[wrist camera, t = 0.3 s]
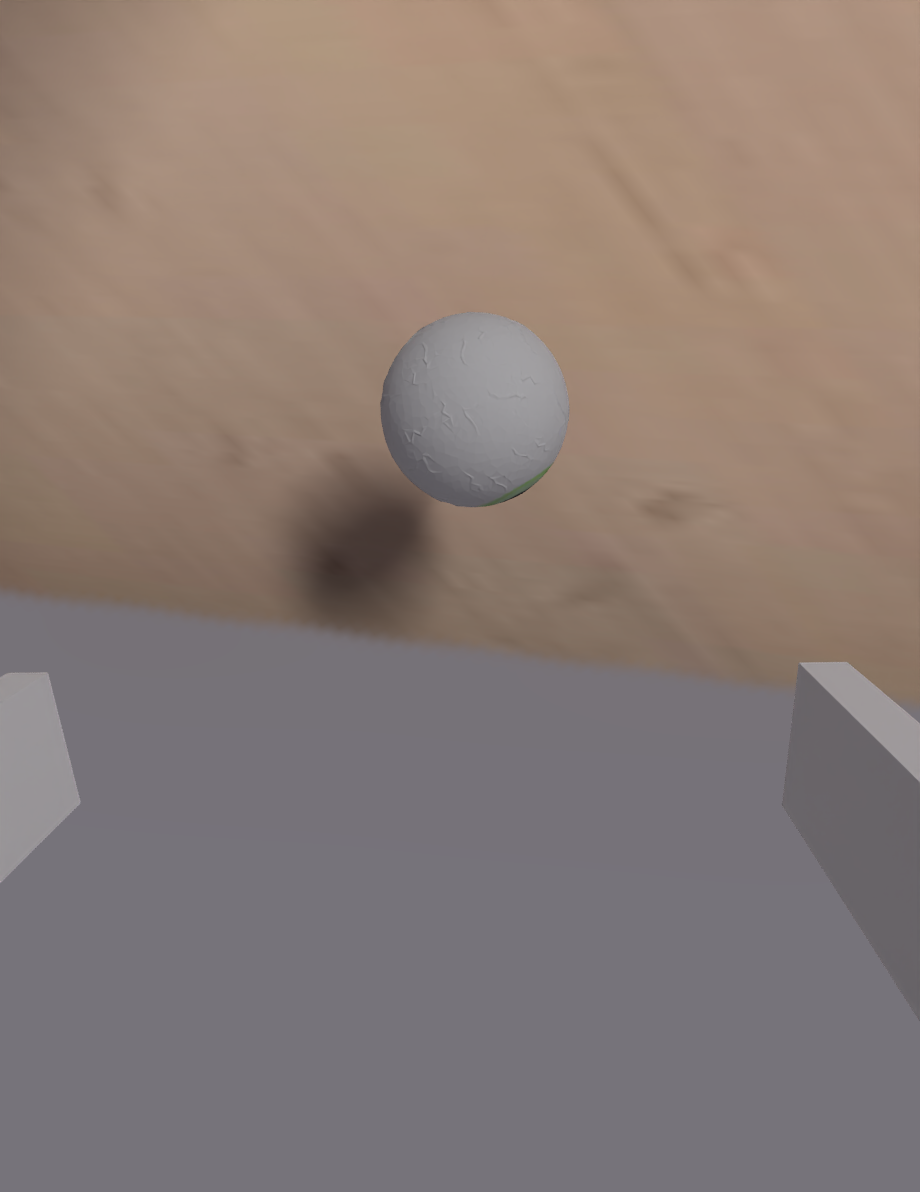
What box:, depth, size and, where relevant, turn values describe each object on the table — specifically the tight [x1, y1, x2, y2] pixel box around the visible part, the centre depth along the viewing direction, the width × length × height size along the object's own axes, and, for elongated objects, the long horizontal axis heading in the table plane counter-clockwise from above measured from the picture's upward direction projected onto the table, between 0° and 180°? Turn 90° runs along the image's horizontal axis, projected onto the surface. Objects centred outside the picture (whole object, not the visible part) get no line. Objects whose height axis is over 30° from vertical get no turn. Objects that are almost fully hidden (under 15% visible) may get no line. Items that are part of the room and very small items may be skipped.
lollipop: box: [380, 312, 569, 507], centre depth 30 cm, size 7×7×15 cm
